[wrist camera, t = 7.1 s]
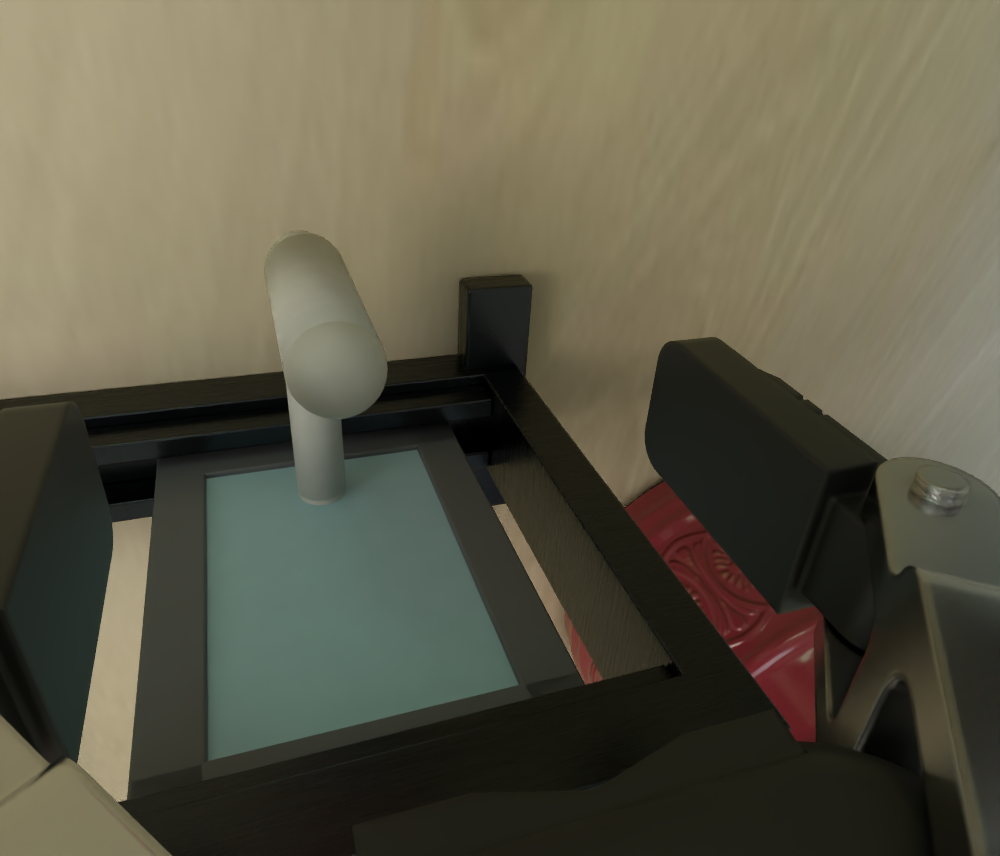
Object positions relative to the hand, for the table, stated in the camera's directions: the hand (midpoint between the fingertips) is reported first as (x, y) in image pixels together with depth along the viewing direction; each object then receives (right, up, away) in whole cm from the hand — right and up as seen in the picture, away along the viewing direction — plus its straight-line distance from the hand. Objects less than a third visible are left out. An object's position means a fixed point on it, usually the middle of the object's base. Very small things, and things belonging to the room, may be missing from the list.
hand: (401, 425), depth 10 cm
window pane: (-4, +2, +9) cm, 10 cm away
